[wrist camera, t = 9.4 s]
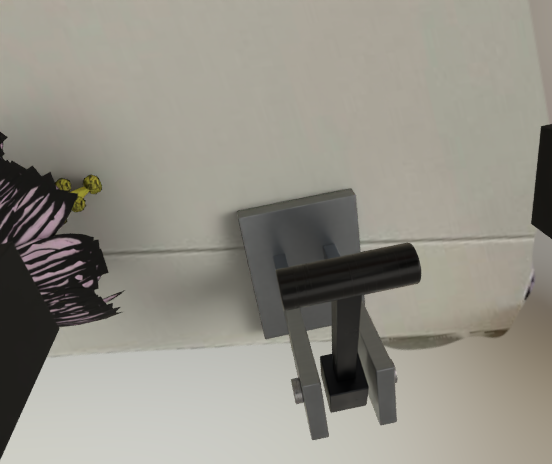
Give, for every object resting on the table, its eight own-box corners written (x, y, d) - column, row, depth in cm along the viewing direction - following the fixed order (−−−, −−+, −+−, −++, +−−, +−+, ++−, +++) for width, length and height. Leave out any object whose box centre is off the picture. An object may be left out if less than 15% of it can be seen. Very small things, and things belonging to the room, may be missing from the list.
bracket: (237, 210, 35) (251, 340, 22) (351, 188, 35) (431, 302, 22) (263, 329, 41) (287, 487, 28) (361, 309, 41) (430, 456, 28)
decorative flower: (-258, 188, 21) (46, 236, 19) (-72, 76, 29) (151, 102, 27) (-89, 357, 31) (120, 399, 29) (13, 239, 39) (180, 265, 38)
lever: (272, 254, 18) (283, 305, 17) (405, 227, 19) (428, 275, 17) (295, 380, 29) (303, 419, 27) (381, 362, 29) (393, 399, 27)
